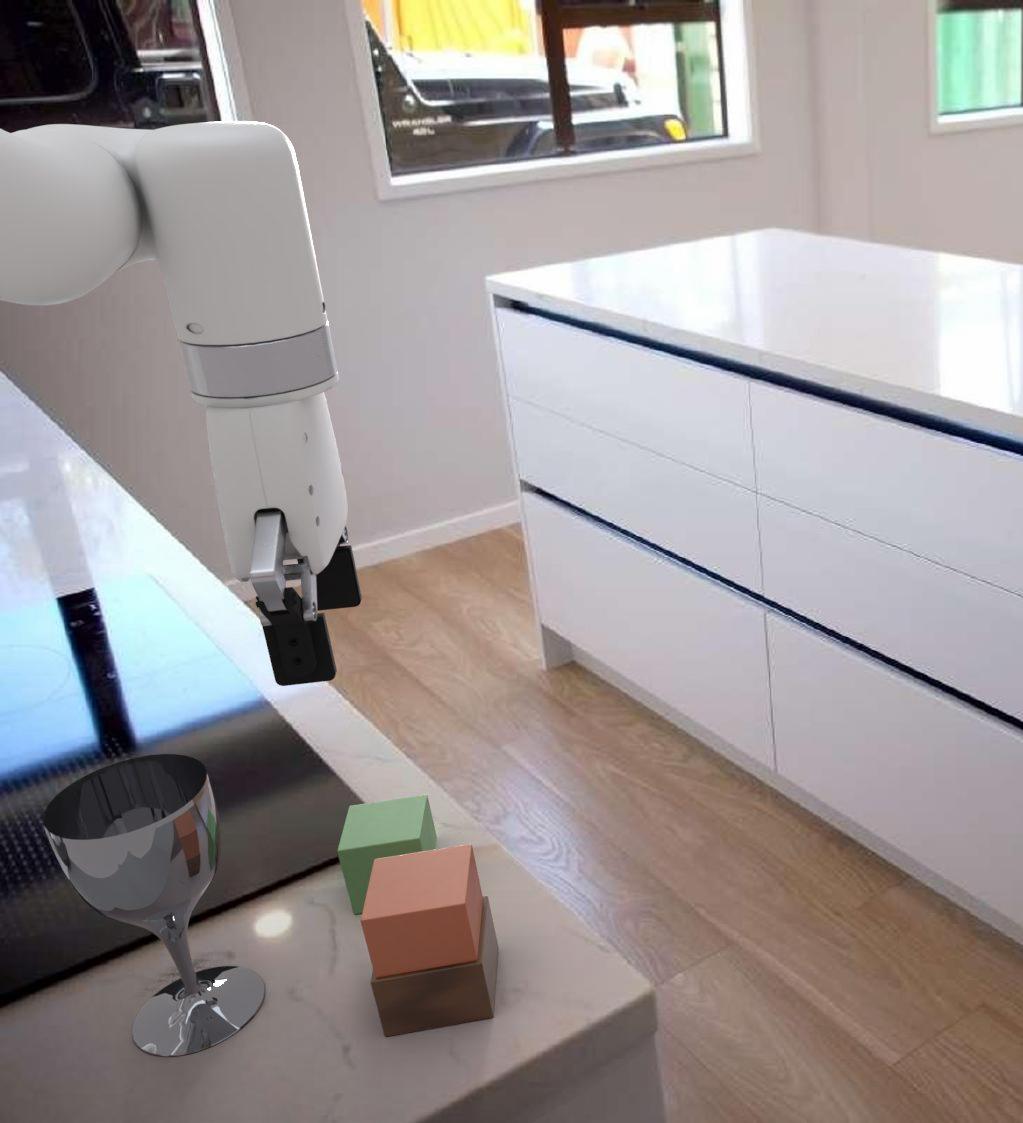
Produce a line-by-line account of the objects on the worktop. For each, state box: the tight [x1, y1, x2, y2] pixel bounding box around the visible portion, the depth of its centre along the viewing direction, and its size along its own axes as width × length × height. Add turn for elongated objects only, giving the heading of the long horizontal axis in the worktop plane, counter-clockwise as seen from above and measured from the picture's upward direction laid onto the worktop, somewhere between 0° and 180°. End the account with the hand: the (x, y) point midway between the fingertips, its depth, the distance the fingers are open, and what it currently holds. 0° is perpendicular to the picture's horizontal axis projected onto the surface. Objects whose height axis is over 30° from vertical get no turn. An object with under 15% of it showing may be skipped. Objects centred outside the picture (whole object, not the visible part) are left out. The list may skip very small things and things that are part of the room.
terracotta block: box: [360, 843, 484, 978], centre depth 72 cm, size 6×6×4 cm
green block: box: [336, 794, 438, 915], centre depth 83 cm, size 5×5×5 cm
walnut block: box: [369, 895, 499, 1037], centre depth 74 cm, size 6×6×4 cm
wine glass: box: [42, 753, 266, 1057], centre depth 71 cm, size 8×8×15 cm
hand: (322, 641), depth 76 cm, fingers open, 9 cm apart
